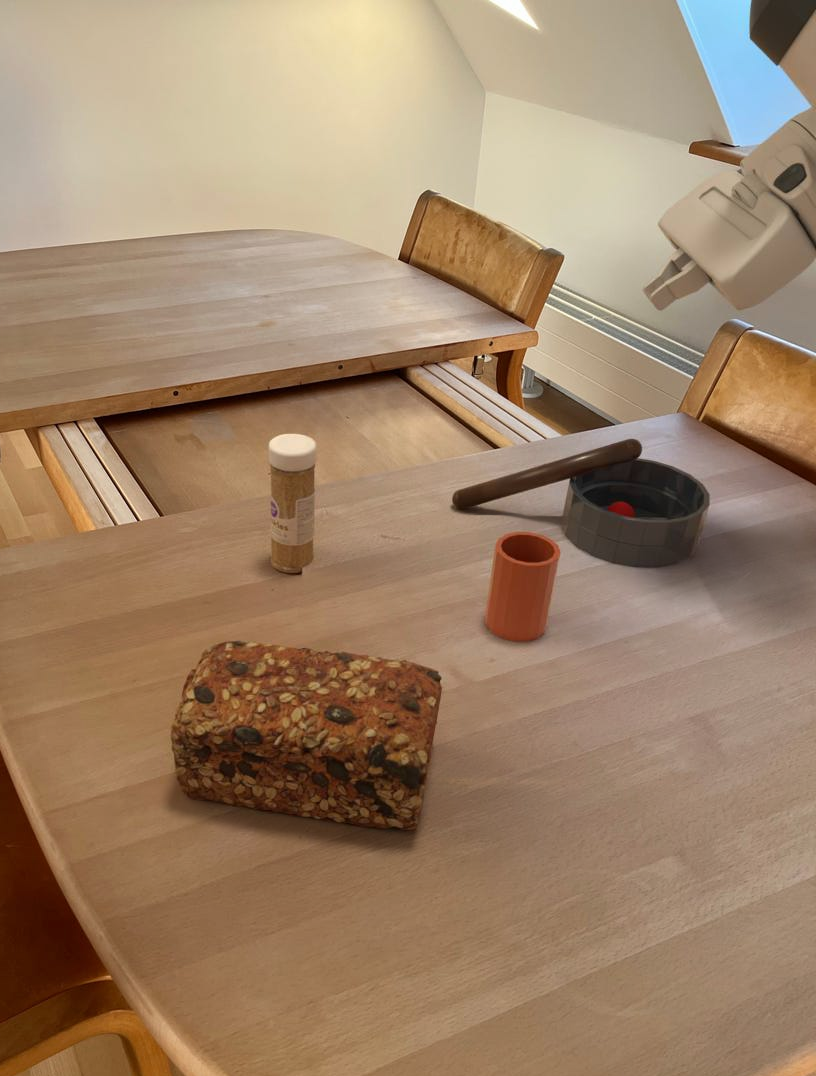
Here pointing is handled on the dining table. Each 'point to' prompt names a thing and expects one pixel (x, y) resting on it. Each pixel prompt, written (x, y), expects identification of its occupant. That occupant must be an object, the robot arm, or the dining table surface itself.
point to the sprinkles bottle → (292, 501)
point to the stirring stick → (548, 473)
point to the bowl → (636, 514)
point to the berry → (621, 509)
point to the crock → (521, 586)
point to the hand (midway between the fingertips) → (650, 300)
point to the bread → (307, 733)
